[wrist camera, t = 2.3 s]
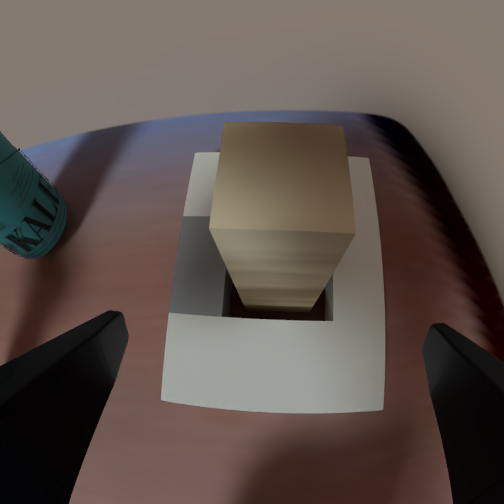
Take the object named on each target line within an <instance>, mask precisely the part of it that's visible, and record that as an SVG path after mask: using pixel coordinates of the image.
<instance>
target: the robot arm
mask: <svg viewBox="0 0 504 504" xmlns="http://www.w3.org/2000/svg"><path fill="white" fill-rule="evenodd" d="M128 339H129V335H128V330H127V327H126V323H125V319H124V316H123V314H122V313H121V312H119V311H112V310H109V311H107V312H105V313H103V314H101V315H99V316H97V317H95V318H93V319H91V320H89V321H87V322H85V323H83V324H81V325H79V326H77V327H75V328H73V329H71V330H69V331H67V332H65V333H64V334H62V335H60V336H58V337H56V338H54V339H52V340H50V341H48V342H46V343H44V344H42V345H40V346H38V347H36V348H34V349H33V350H31V351H29V352H27V353H25V354H23V355H21V356H19V358H15V359H13V360H11V361H9V362H7V363H5V364H3V365H1V366H0V504H69V501H70V498H71V494H72V492H73V489H74V486H75V483H76V480H77V477H78V474H79V471H80V469H81V466H82V463H83V460H84V458H85V455H86V452H87V450H88V447H89V445H90V442H91V439H92V437H93V434H94V432H95V429H96V427H97V424H98V422H99V419H100V417H101V414H102V412H103V409H104V407H105V405H106V402H107V400H108V398H109V395H110V393H111V390H112V388H113V386H114V383H115V381H116V378H117V375H118V371H119V368H120V365H121V362H122V359H123V355H124V352H125V349H126V346H127V343H128ZM422 353H423V358H424V363H425V368H426V373H427V379H428V385H429V390H430V395H431V399H432V403H433V407H434V411H435V414H436V418H437V422H438V426H439V430H440V435H441V439H442V444H443V448H444V453H445V458H446V463H447V468H448V473H449V479H450V485H451V491H452V498H453V504H504V362H502V361H501V360H499V359H498V358H497V357H495V356H494V355H492V354H491V353H489V352H488V351H486V350H485V349H483V348H482V347H480V346H479V345H477V344H476V343H474V342H472V341H471V340H469V339H468V338H466V337H465V336H463V335H462V334H460V333H459V332H457V331H456V330H454V329H452V328H451V327H449V326H448V325H446V324H444V323H436V324H432V325H431V326H430V328H429V331H428V334H427V336H426V339H425V342H424V344H423V348H422Z"/></svg>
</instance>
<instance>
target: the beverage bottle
mask: <svg viewBox="0 0 504 504" xmlns="http://www.w3.org/2000/svg"><path fill="white" fill-rule="evenodd" d="M19 150H20V149H18V150H17V149H16V148H15V147H14V146H13V145H12V144H11V143H10V142H9V141H8V140H7V139H6V137H5V136H4V135H3V134H2V133H1V132H0V243H1V244H2V245H4V246H5V247H6V248H7V247H8V248H9V249H11V250H12V251H14V252H13V253H14V254H16V253H17V254H19V255H21V257H22V256H23V257H26V258H24V259H29V258H32V259H34V258H39V257H41V256H43V255H45V254H46V253H48V252H49V251H50V250H51V249H52V248H53V247H54V246H55V244H56V243H57V242H58V240H59V238H60V237H61V235H62V233H63V230H64V228H65V224H66V220H67V207H66V204H65V201H64V199H63V198H64V197H62V196H61V195H60V194H59V193H58V192H57V191H56V190H55V189H56V188H55V189H54V188H53V187H52V186H51V185H50V184H49V182H50V181H49V180H48V179H47V178H46V177H43V175H41V174H42V173H41V174H40V173H39V172H38V171H37V170H36V169H37V168H36V169H35V168H34V167H33V166H34V164H33V163H32V162H31V163H32V164H33V166H32V165H31V164H30V163H29V162H30V161H29V162H28V161H27V159H26V158H25V157H26V156H25V157H24V156H23V155H22V154H21V153H20V152H19ZM21 152H22V151H21ZM22 153H23V152H22ZM28 159H29V158H28ZM35 167H36V166H35ZM39 171H40V170H39ZM44 178H46V179H47V181H49V182H47V181H46V180H45V179H44ZM51 184H52V183H51ZM54 187H55V186H54ZM57 190H58V189H57ZM61 194H62V193H61ZM2 247H3V246H2ZM6 248H5V249H6ZM9 249H7V250H9ZM9 251H10V250H9ZM12 251H10V252H12ZM15 252H16V253H15Z"/></svg>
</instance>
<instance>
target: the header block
mask: <svg viewBox="0 0 504 504" xmlns="http://www.w3.org/2000/svg"><path fill="white" fill-rule="evenodd" d="M219 155H220V152H207V153H195V157H194V162H193V167H192V172H191V177H190V182H189V187H188V192H187V198H186V203H185V209H184V214H183V220H182V226H181V232H180V238H179V244H178V251H177V257H176V264H175V271H174V278H173V285H172V293H171V301H170V309H169V317H168V326H167V335H166V345H165V356H164V367H163V379H162V392H161V400H162V401H168V402H174V403H181V404H187V405H195V406H202V407H211V408H220V409H230V410H241V411H255V412H274V413H346V412H364V411H378V410H383V403H384V384H385V300H384V280H383V266H382V253H381V242H380V233H379V224H378V215H377V207H376V200H375V193H374V186H373V180H372V173H371V167H370V162H369V158H364V157H352V156H348V162H349V170H350V178H351V187H352V196H353V206H354V217H355V229H356V234H355V236H354V238H353V239H352V241H351V243H350V245H349V246H348V248H347V250H346V252H345V254H344V255H343V257H342V259H341V261H340V262H339V264H338V266H337V267H336V269H335V271H334V273H333V274H332V276H331V278H330V279H329V281H328V283H327V284H326V286H325V321H297V320H269V319H249V318H231V317H230V308H231V296H232V284H233V281H232V279H231V276H230V274H229V272H228V270H227V268H226V265H225V263H224V261H223V259H222V257H221V254H220V252H219V250H218V248H217V245H216V243H215V241H214V239H213V236H212V234H211V232H210V230H209V224H210V216H211V209H212V202H213V195H214V188H215V181H216V174H217V168H218V161H219Z"/></svg>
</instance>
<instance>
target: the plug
mask: <svg viewBox="0 0 504 504" xmlns="http://www.w3.org/2000/svg"><path fill="white" fill-rule="evenodd" d="M209 230H210V232H211V234H212V236H213V239H214V241H215V243H216V245H217V248H218V250H219V252H220V254H221V257H222V259H223V261H224V263H225V265H226V268H227V270H228V272H229V274H230V276H231V279H232V281H233V283H234V285H235V287H236V289H237V292H238V294H239V296H240V298H241V300H242V302H243V305H244V307H245V309H246V310H254V311H277V312H310V310H311V309H312V307H313V306H314V304H315V302H316V301H317V299H318V298H319V296H320V294H321V293H322V291H323V289H324V288H325V286H326V284H327V283H328V281H329V279H330V278H331V276H332V274H333V273H334V271H335V269H336V267H337V266H338V264H339V262H340V261H341V259H342V257H343V255H344V254H345V252H346V250H347V248H348V246H349V245H350V243H351V241H352V239H353V238H354V236H355V234H356V229H355V217H354V206H353V196H352V187H351V178H350V170H349V162H348V155H347V148H346V141H345V135H344V128H343V126H337V125H324V124H307V123H280V122H228V123H225V124H224V130H223V136H222V142H221V148H220V155H219V161H218V168H217V174H216V181H215V188H214V195H213V202H212V209H211V216H210V224H209Z"/></svg>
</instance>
